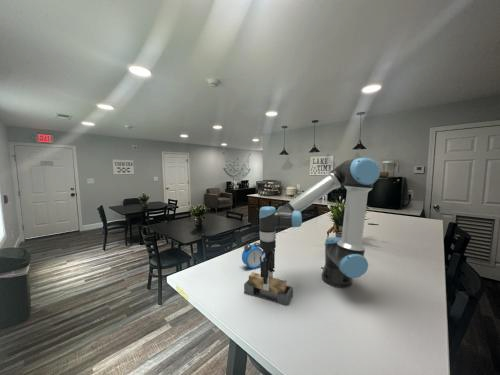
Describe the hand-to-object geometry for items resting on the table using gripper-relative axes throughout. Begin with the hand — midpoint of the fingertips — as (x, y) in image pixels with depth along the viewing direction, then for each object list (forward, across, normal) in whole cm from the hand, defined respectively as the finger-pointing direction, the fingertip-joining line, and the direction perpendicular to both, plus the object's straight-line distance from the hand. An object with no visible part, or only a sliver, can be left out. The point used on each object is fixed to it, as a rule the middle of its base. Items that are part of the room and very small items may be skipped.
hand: (268, 287), depth 96 cm
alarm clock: (+4, -23, -20) cm, 31 cm away
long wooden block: (+1, 0, -1) cm, 1 cm away
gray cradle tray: (+4, 0, 0) cm, 4 cm away
